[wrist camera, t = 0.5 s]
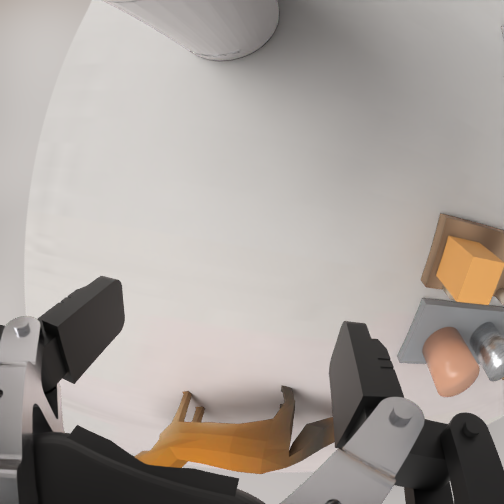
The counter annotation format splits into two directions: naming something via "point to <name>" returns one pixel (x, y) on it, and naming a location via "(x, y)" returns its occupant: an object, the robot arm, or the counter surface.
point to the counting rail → (489, 237)
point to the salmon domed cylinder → (450, 362)
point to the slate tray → (446, 324)
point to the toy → (238, 441)
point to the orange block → (469, 271)
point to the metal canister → (489, 349)
